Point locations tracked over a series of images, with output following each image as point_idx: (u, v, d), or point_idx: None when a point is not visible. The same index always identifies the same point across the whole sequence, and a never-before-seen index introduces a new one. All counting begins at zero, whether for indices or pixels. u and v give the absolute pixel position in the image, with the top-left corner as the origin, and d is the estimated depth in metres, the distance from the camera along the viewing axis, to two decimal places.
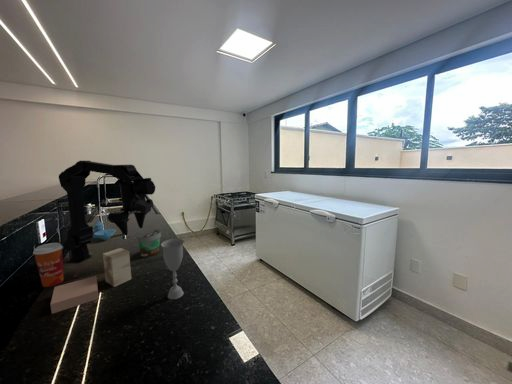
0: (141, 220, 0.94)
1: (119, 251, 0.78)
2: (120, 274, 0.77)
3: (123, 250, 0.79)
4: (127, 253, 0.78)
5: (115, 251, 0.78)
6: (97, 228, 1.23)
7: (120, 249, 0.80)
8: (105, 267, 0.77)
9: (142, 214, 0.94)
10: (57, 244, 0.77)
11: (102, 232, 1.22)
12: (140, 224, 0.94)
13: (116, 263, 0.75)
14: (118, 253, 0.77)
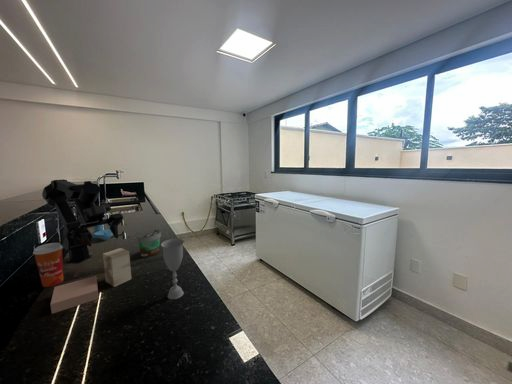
0: (114, 230, 0.86)
1: (119, 251, 0.78)
2: (120, 274, 0.77)
3: (123, 250, 0.79)
4: (127, 253, 0.78)
5: (115, 251, 0.78)
6: (97, 228, 1.23)
7: (120, 249, 0.80)
8: (105, 267, 0.77)
9: (112, 224, 0.87)
10: (57, 244, 0.77)
11: (102, 232, 1.22)
12: (115, 235, 0.86)
13: (116, 263, 0.75)
14: (118, 253, 0.77)
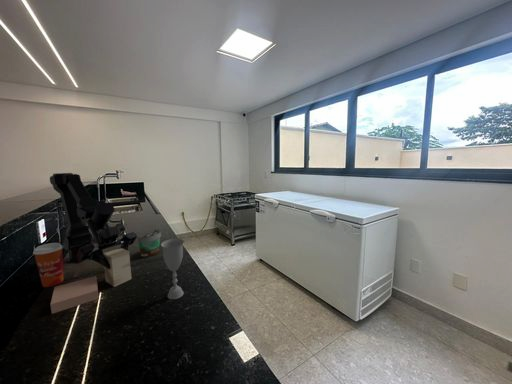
0: None
1: (119, 251, 0.78)
2: (120, 274, 0.77)
3: (123, 250, 0.79)
4: (127, 253, 0.78)
5: (115, 251, 0.78)
6: None
7: (120, 249, 0.80)
8: (105, 267, 0.77)
9: (123, 245, 0.82)
10: (57, 244, 0.77)
11: None
12: None
13: (116, 263, 0.75)
14: (118, 253, 0.77)
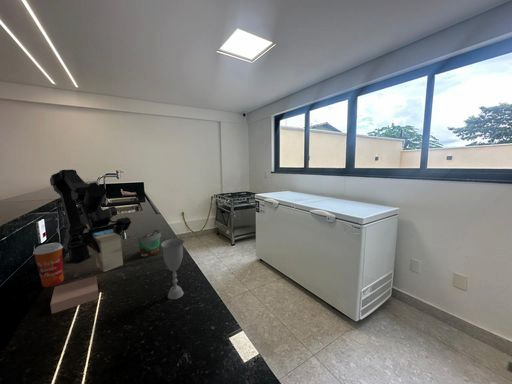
0: None
1: (111, 235, 0.75)
2: (110, 259, 0.73)
3: (115, 234, 0.76)
4: (118, 237, 0.75)
5: (106, 235, 0.75)
6: None
7: (112, 233, 0.77)
8: None
9: (115, 230, 0.78)
10: (57, 244, 0.77)
11: (102, 232, 1.22)
12: None
13: (106, 247, 0.72)
14: (109, 237, 0.73)
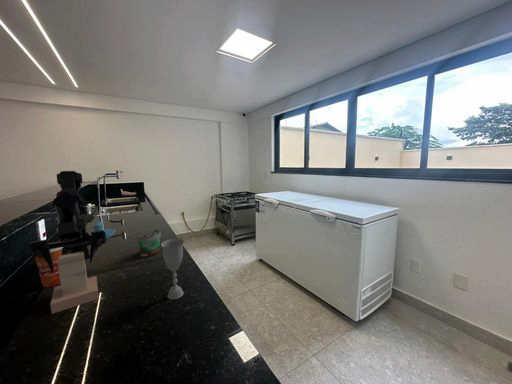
0: (90, 252, 0.71)
1: (75, 256, 0.68)
2: (71, 283, 0.66)
3: (80, 255, 0.68)
4: (81, 259, 0.67)
5: (73, 255, 0.68)
6: (97, 228, 1.23)
7: (80, 253, 0.70)
8: None
9: None
10: None
11: None
12: None
13: (65, 270, 0.64)
14: (71, 258, 0.66)
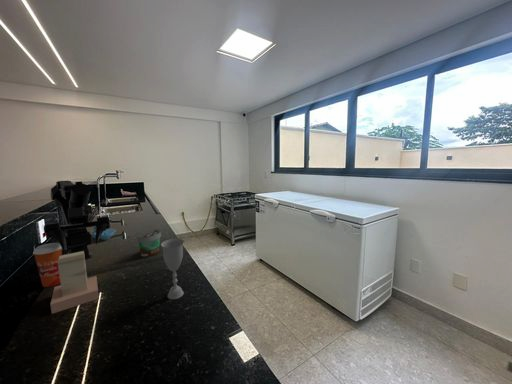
0: None
1: (75, 256, 0.68)
2: (71, 283, 0.66)
3: (80, 255, 0.68)
4: (81, 259, 0.67)
5: (73, 255, 0.68)
6: None
7: (80, 253, 0.70)
8: None
9: (96, 227, 0.82)
10: (57, 244, 0.77)
11: None
12: None
13: (65, 270, 0.64)
14: (71, 258, 0.66)
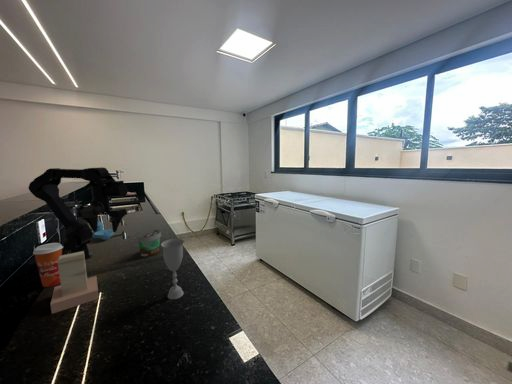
0: None
1: (75, 256, 0.68)
2: (71, 283, 0.66)
3: (80, 255, 0.68)
4: (81, 259, 0.67)
5: (73, 255, 0.68)
6: (97, 228, 1.23)
7: (80, 253, 0.70)
8: None
9: None
10: (57, 244, 0.77)
11: (102, 232, 1.22)
12: None
13: (65, 270, 0.64)
14: (71, 258, 0.66)
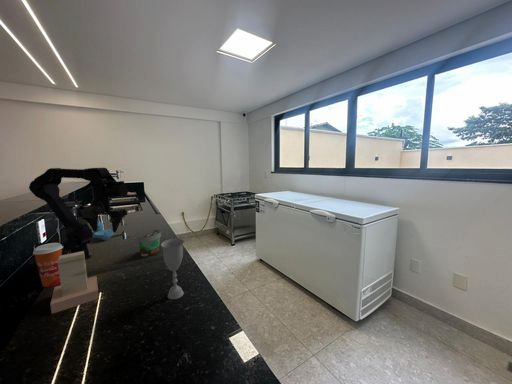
0: None
1: (75, 256, 0.68)
2: (71, 283, 0.66)
3: (80, 255, 0.68)
4: (81, 259, 0.67)
5: (73, 255, 0.68)
6: (97, 228, 1.23)
7: (80, 253, 0.70)
8: None
9: None
10: (57, 244, 0.77)
11: (102, 232, 1.22)
12: None
13: (65, 270, 0.64)
14: (71, 258, 0.66)
